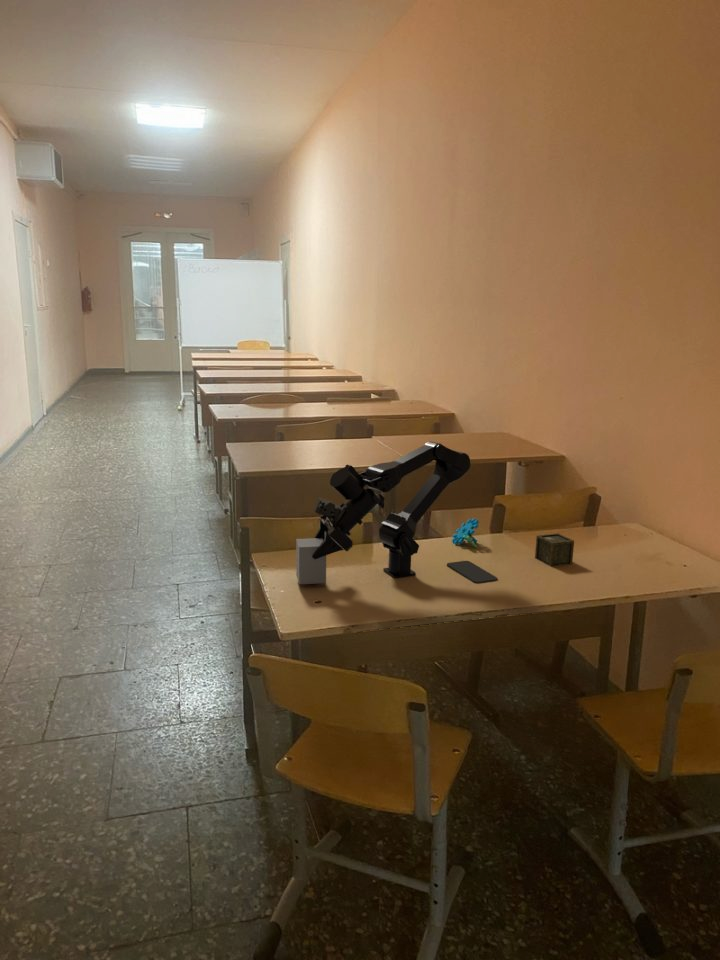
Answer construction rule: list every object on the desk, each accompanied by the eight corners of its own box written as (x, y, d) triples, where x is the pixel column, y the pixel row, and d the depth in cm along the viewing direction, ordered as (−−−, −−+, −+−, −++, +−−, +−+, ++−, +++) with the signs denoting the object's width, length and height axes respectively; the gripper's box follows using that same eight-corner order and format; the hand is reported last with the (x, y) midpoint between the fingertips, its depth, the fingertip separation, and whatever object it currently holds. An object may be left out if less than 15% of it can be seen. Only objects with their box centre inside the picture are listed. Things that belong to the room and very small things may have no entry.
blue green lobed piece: (449, 532, 217) (473, 511, 215) (461, 544, 219) (486, 524, 216) (452, 547, 207) (478, 526, 204) (465, 561, 208) (491, 540, 206)
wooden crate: (534, 560, 200) (536, 535, 199) (555, 557, 203) (558, 533, 201) (550, 568, 194) (552, 543, 192) (572, 565, 196) (574, 540, 195)
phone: (475, 582, 179) (445, 563, 193) (475, 585, 180) (444, 566, 193) (499, 578, 182) (468, 560, 196) (499, 581, 183) (468, 563, 196)
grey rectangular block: (322, 573, 180) (322, 537, 178) (326, 582, 174) (326, 546, 172) (296, 574, 179) (296, 538, 177) (299, 584, 173) (299, 547, 170)
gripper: (327, 478, 181) (284, 521, 181) (339, 496, 163) (292, 544, 164) (357, 507, 184) (315, 549, 185) (372, 527, 167) (325, 574, 167)
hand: (311, 553), depth 175 cm, fingers closed on grey rectangular block, 6 cm apart
